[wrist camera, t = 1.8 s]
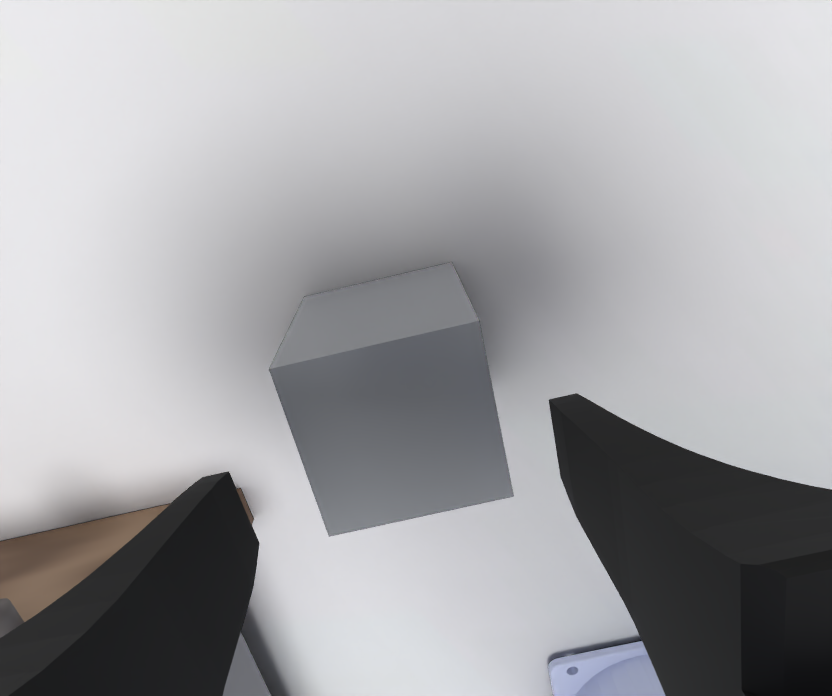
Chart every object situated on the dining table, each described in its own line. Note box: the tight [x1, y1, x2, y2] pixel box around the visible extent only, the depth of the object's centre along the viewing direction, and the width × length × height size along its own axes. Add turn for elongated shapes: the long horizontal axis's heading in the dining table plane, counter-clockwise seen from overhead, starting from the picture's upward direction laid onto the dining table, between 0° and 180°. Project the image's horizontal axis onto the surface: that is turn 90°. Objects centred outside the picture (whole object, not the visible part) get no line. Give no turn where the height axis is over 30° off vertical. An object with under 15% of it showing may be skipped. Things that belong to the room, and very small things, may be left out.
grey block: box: [269, 262, 514, 536], centre depth 17 cm, size 5×5×6 cm
